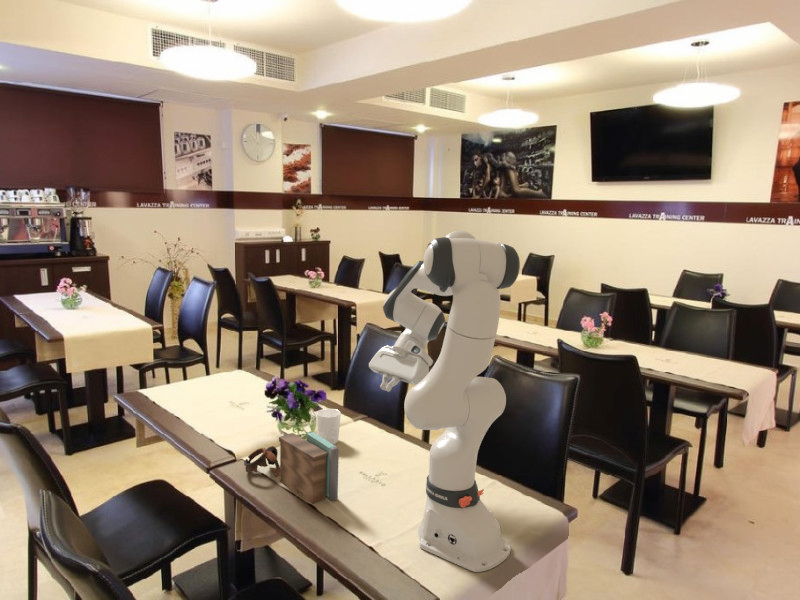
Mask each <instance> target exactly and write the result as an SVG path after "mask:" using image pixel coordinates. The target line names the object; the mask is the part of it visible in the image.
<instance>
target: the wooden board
mask: <svg viewBox="0 0 800 600" xmlns="http://www.w3.org/2000/svg"><path fill="white" fill-rule="evenodd" d="M278 442H280V443H279V448H280V449H279V450H280V451H279V452H280V457H279V459H280V460H279V461H280V462H279V466H280V474H279V481H280V482H281V483H282V482H283V483H282V484H284V486H287V487H288V488H289V489H291V490H292V491H293V492H295V493H297V494H298V495H300V496H301V497H303V498H304V499H306V501H308V502H310V503H311V504H316V503H318V502H321V501H323V500H325V499H326V495H325V485H326V457H328V452H326V451H324V450H322V449H320V448H319V447H317V446H315V445H313V444H312V443H310V442H308V441H307V439H304V438H303V437H300V436H299V435H298V434H295V433H294V432H292V433H287V434H284V435H282V436H278Z"/></svg>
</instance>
